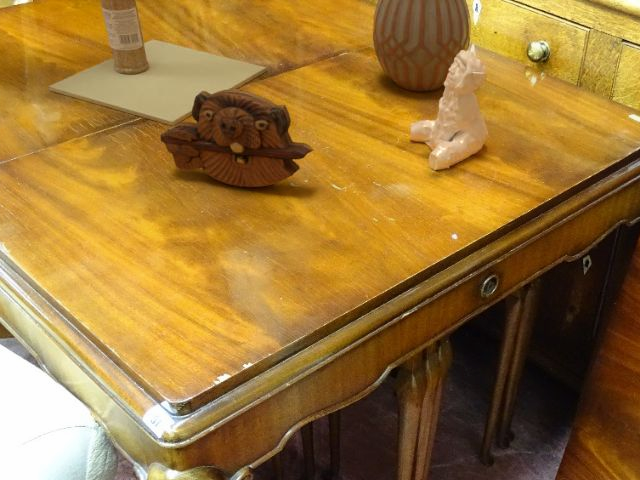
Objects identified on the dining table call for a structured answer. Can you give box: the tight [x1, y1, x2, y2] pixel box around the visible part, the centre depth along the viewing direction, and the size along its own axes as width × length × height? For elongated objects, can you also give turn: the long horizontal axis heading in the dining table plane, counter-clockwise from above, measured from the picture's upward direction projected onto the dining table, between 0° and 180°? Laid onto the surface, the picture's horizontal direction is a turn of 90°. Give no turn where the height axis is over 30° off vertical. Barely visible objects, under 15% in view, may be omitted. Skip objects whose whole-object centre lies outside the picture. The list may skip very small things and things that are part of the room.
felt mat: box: [48, 39, 268, 127], centre depth 104 cm, size 20×20×1 cm
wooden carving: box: [160, 88, 314, 188], centre depth 82 cm, size 16×5×10 cm, turn 82°
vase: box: [372, 0, 472, 92], centre depth 102 cm, size 13×13×18 cm
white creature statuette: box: [409, 49, 490, 171], centre depth 89 cm, size 10×9×12 cm
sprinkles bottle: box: [100, 0, 149, 74], centre depth 101 cm, size 5×5×14 cm
